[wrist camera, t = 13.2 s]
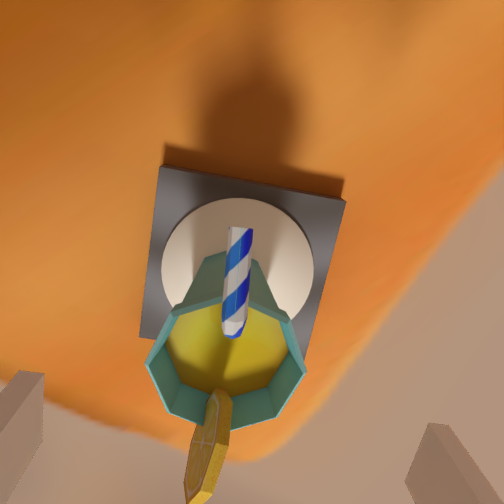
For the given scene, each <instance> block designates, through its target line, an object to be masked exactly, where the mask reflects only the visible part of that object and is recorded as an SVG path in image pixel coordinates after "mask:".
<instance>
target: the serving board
mask: <svg viewBox="0 0 504 504" xmlns="http://www.w3.org/2000/svg"><path fill="white" fill-rule="evenodd" d="M345 205H346V201H345V200H343V199H342V198H338V197H333V196H328V195H323V194H317V193H312V192H307V191H301V190H296V189H291V188H285V187H280V186H275V185H269V184H264V183H259V182H253V181H248V180H243V179H237V178H232V177H227V176H222V175H216V174H211V173H206V172H200V171H195V170H190V169H184V168H179V167H174V166H168V165H162V166H160V167H159V175H158V183H157V192H156V200H155V208H154V216H153V225H152V233H151V241H150V250H149V258H148V266H147V274H146V283H145V291H144V299H143V308H142V316H141V324H140V332H139V337H140V338H147V339H154V340H156V339H157V337H158V335H159V333H160V331H161V329H162V327H163V325H164V323H165V322H166V320H167V318H168V316H169V314H170V312H171V310H172V309H173V307H174V306H175V305H176V304H179V303H182V301H183V299H184V297H185V295H186V293H187V291H188V289H189V287H190V285H191V283H192V282H193V280H194V278H195V276H196V274H197V272H198V270H199V268H200V266H201V264H202V262H203V260H204V258H205V257H208V256H211V255H214V254H217V253H220V252H224V251H227V244H228V232H229V227H240V228H252V229H253V242H252V257H251V258H252V259H254V260H256V261H258V263H259V266H260V268H261V270H262V272H263V274H264V277H265V279H266V281H267V283H268V285H269V288H270V290H271V292H272V294H273V296H274V299H275V301H276V303H277V305H278V307H279V309H282V310H284V311H286V313H287V314H288V316H289V318H290V319H291V322H292V326H293V329H294V332H295V335H296V338H297V341H298V345H299V348H300V351H301V354H302V357H303V360H304V359H305V356H306V352H307V348H308V344H309V341H310V337H311V333H312V329H313V325H314V322H315V318H316V314H317V310H318V307H319V303H320V299H321V295H322V292H323V288H324V284H325V280H326V276H327V273H328V269H329V265H330V261H331V258H332V254H333V250H334V246H335V242H336V239H337V235H338V231H339V227H340V224H341V220H342V216H343V212H344V209H345Z"/></svg>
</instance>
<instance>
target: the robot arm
mask: <svg viewBox="0 0 504 504" xmlns="http://www.w3.org/2000/svg"><path fill="white" fill-rule="evenodd" d="M43 401H44V373H36V372H29V371H21V370H19V371H18V373H17V374H16V375H15V376H14V377H13V379H12V380H11V381H10V382H9V383H8V385H7V386H6V387H5V388H4V389H3V390H2V392H1V393H0V504H6V502H7V500H8V499H9V497H10V495H11V493H12V492H13V490H14V489H15V487H16V485H17V483H18V482H19V480H20V478H21V477H22V475H23V473H24V471H25V470H26V468H27V466H28V465H29V463H30V461H31V459H32V458H33V456H34V454H35V453H36V451H37V449H38V448H39V446H40V444H41V442H42V428H43V427H42V426H43ZM405 483H406V485H407V487H408V490H409V492H410V494H411V496H412V498H413V500H414V502H415V504H504V503H503V502H502V500H501V499H500V497H499V496H498V494H497V493H496V491H495V490H494V489H493V487H492V486H491V484H490V483H489V482H488V480H487V479H486V477H485V476H484V474H483V473H482V472H481V470H480V469H479V467H478V466H477V465H476V463H475V462H474V460H473V459H472V457H471V456H470V455H469V453H468V452H467V450H466V449H465V448H464V446H463V445H462V443H461V442H460V441H459V439H458V438H457V436H456V435H455V433H454V432H453V431H452V429H451V428H450V427H449V425H443V424H435V423H428V425H427V428H426V430H425V433H424V435H423V438H422V440H421V443H420V445H419V447H418V450H417V452H416V455H415V457H414V460H413V462H412V465H411V467H410V470H409V472H408V475H407V477H406V479H405Z"/></svg>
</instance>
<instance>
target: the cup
mask: <svg viewBox="0 0 504 504" xmlns="http://www.w3.org/2000/svg"><path fill="white" fill-rule="evenodd" d="M252 242H253V229H252V228H240V227H229V232H228V244H227V251H224V252H220V253H217V254H214V255H211V256H208V257H205V258H204V260H203V262H202V264H201V266H200V268H199V270H198V272H197V274H196V276H195V278H194V280H193V282H192V283H191V285H190V287H189V289H188V291H187V293H186V295H185V297H184V299H183V301H182V303H179V304H176V305H175V306H174V307H173V309H172V310H171V312H170V314H169V316H168V318H167V320H166V322H165V323H164V325H163V327H162V329H161V331H160V333H159V335H158V337H157V339H156V341H155V343H154V345H153V347H152V349H151V351H150V353H149V355H148V357H147V359H146V361H145V366H146V368H147V370H148V372H149V374H150V376H151V378H152V381H153V383H154V385H155V387H156V389H157V391H158V393H159V396H160V398H161V400H162V402H163V404H164V406H165V409H166V411H167V413H170V414H172V415H175V416H178V417H180V418H183V419H185V420H188V421H190V422H193V423H196V424H197V425H196V428H195V431H194V434H193V437H192V440H191V444H190V450H189V456H188V462H187V467H186V473H185V478H184V490H185V497H186V504H203V503H205V501H206V500H207V499H208V498H209V497H210V496H211V495H212V494H213V492H214V490H215V486H216V483H217V480H218V477H219V474H220V471H221V468H222V465H223V462H224V459H225V455H226V452H227V449H228V446H229V437H230V431H232V430H236V429H239V428H243V427H246V426H249V425H253V424H256V423H260V422H263V421H267V420H270V419H274V418H277V417H278V416H279V414H280V413H281V411H282V410H283V408H284V407H285V405H286V404H287V402H288V400H289V399H290V397H291V396H292V394H293V393H294V391H295V390H296V388H297V386H298V385H299V383H300V382H301V380H302V379H303V377H304V376H305V374H306V372H307V370H306V367H305V364H304V360H303V357H302V354H301V351H300V348H299V345H298V341H297V338H296V335H295V332H294V329H293V326H292V322H291V319H290V318H289V316H288V314H287V313H286V311H284V310H282V309H279V307H278V305H277V303H276V301H275V299H274V296H273V294H272V292H271V290H270V288H269V285H268V283H267V281H266V279H265V277H264V274H263V272H262V270H261V268H260V266H259V263H258V261H256V260H254V259H252V258H251V257H252Z"/></svg>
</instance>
